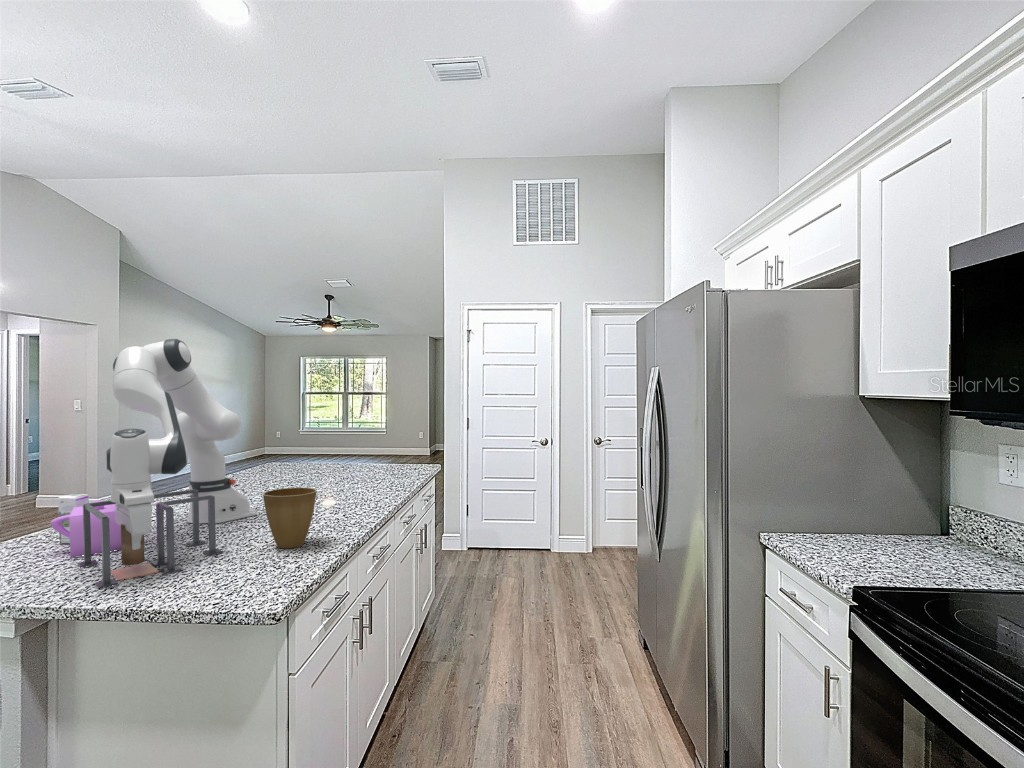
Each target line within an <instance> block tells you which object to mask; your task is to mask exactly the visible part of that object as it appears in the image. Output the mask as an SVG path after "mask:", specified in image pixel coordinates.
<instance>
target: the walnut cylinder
mask: <svg viewBox="0 0 1024 768" xmlns="http://www.w3.org/2000/svg"><path fill="white" fill-rule="evenodd" d="M131 542H132V536H131V533H130V532H128V531H127V530H126V528H125V525H123V524H121V551H120V552H121V555H120V556H121V565H122V566H136V565H141V564H143V563H144V562H145V561H146V560H145V559H146V558H145V534H143V535H142V538H141V542H140V549H136V550H133V549H132V548H131Z"/></svg>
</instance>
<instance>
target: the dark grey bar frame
mask: <svg viewBox="0 0 1024 768" xmlns="http://www.w3.org/2000/svg"><path fill="white" fill-rule="evenodd" d="M190 494H192V498H191V497H188V498H181V499H180V498H179V499H174V500H168V501H167V500H166V501H159V502H157V503H155V514H156V516H155V517H156V552H157V555H156V556H157V558H156V560H153V561H150V564H151V565H152V566H153V567H155V568H157V566H158V567H162V566H166V567H163V568H159V572H160V573H162V574H163V575H169V574H174V573H178V572H179V573H180V572H182V571H183V568H182V567H181V566H179V565H176V562H175V561H176V560H175V558H176V557H175V556H176V554H175V520H174V519H175V518H174V517H175V516H174V512H175V511H174V508H173V507H172V506H173V505H180V504H189V503H190V502H192V520H193V523H192V540H191V541H186V545H187V546H189V547H192V546H193V547H197V546H202V545H206V543H207V542H206V541H205V540H203V539H200V523H199V501H202V500H208V523H207V525H208V526H207V527H208V528H207V529H208V550H203V551H202V554H203V555H204V556H206V557H211V556H215V555H216V556H217V555H221V554H223V550H222V549H220V548H217V540H216V537H217V535H216V534H217V532H216V523H215V496H212V495H208V496H201V497H199V496H198V490H195V489H193V490H189V489H188V490H178V491H171V492H163V493H157V494H156V493H154V500H155V499H161V498H168V497H177V496H183V495H190ZM93 502H94V501H93ZM111 504H116V503H115V502H111V499H109V500H103V501H102V502H94V503H91V502H89V503H87V504H84V505H83V538H84V556H83V561H80V562H76V563H77V564H76V566H77V567H78V568H79V567H80V568H79V569H82V568H81V567H85V568H87V567H86V566H90V567H92V566H91V565H95V566H98V565H99V562H98V561H97V560H96V559H92V555H91V525H90V512H91V513H92V514H93V515H95V516H96V517H97V518H99V519H100V520H101V536H102V554H101V566H102V567H101V568H102V570H101V571H102V574H101V575H102V581H101V580H100V581H95V583H94V586H95V585H96V586H97V587H98V588H101V589H103V588H102V587H106V588H108V587H107V586H110V587H113V586H112V585H115V586H118V585H119V581H117V580H116V579H115V578H111V576H112V575H111V570H112V569H111V552H110V529H109V518H108V516H106V515H105V514H103V513H102V512H100V511H99V510H97V509H96V508H94V507H96V506H104V505H111ZM164 511H165V515H164ZM164 516H165V517H164ZM164 521H165V522H164ZM165 524H166V526H165ZM165 527H166V529H165ZM165 530H166V537H165ZM165 538H166V551H165ZM165 553H166V555H165ZM165 556H166V558H165ZM97 564H98V565H97ZM117 584H118V585H117ZM96 586H95V587H96ZM97 587H96V588H97ZM98 588H97V589H98Z"/></svg>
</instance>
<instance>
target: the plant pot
mask: <svg viewBox="0 0 1024 768" xmlns="http://www.w3.org/2000/svg"><path fill="white" fill-rule="evenodd" d="M262 497H263V503H264V508H265V513H266V517H267V522H268V526H269V528H270V531H271V535H272V537H273V540H274V543H275V544H276V547H277V548H279V549H294V548H295V549H296V548H300V547H302V546H303V545H304V544H305V542H306V539H307V536H308V533H309V530H310V526H311V524H312V520H313V516H314V515H313V514H314V511H315V504H316V499H317V489H316V488H313V487H287V488H277V489H272V490H268V491H264V492H263V493H262Z"/></svg>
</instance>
